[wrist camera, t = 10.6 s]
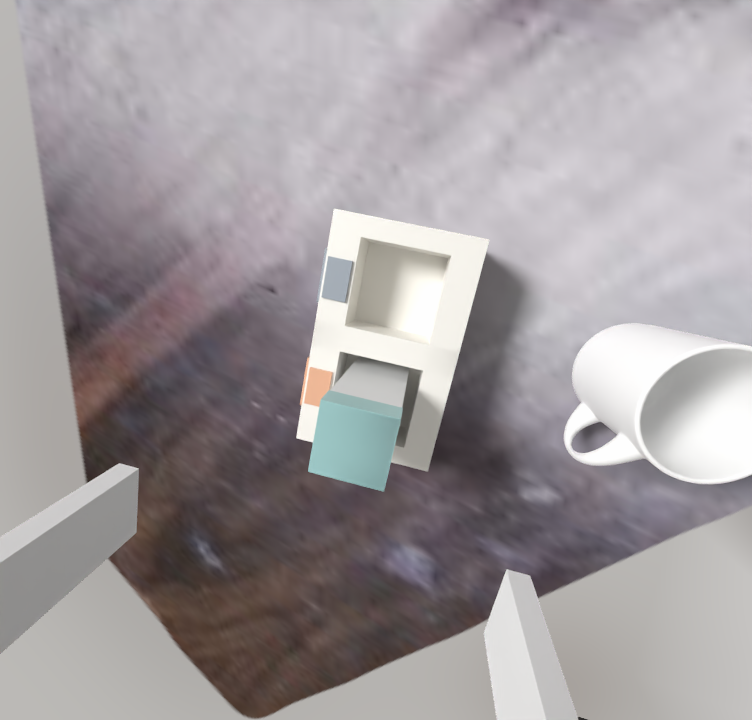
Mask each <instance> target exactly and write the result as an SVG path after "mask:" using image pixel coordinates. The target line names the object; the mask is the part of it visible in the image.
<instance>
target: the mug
mask: <svg viewBox="0 0 752 720" xmlns="http://www.w3.org/2000/svg"><path fill="white" fill-rule="evenodd" d="M572 383H573V387H574V390H575V393H576V395H577V397H578V399H579V400H580V402H581V403H580V405H579V406H578V407H577V408H576V409H575V411H574V412H573V413H572V415H571V416H570V418H569V420H568V422H567V424H566V426H565V431H564V443H565V446H566V449H567V451H568V452H569V454H570V455H571V456H572V457H573V458H574V459H576V460H577V461H579V462H581V463H584V464H587V465H593V466H609V465H616V464H622V463H627V462H631V461H635V460H640V459H647V460H648V461H649V462H650V463H652V464H653V465H654V466H655V467H657V468H658V469H659V470H661V471H662V472H664V473H666V474H667V475H669V476H671V477H674V478H676V479H679V480H682V481H686V482H690V483H697V484H722V483H727V482H733V481H736V480H740V479H743V478H745V477H748V476H750V475H752V346H747V345H743V344H738V343H734V342H729V341H724V340H720V339H715V338H710V337H706V336H701V335H696V334H692V333H687V332H682V331H678V330H673V329H668V328H664V327H659V326H654V325H649V324H641V323H627V324H620V325H616V326H612V327H609V328H607V329H605V330H603V331H601V332H599V333H597V334H596V335H594V336H593V337H592V338H591V339H590V340H588V341H587V342H586V344H585V345H584V346H583V347H582V348H581V350H580V351H579V353H578V355H577V357H576V359H575V362H574V365H573V369H572ZM598 422H602V423H603V424H605V425H606V426H607V427H608V428H609V429H611V430H612V431H613V432H614V433H615V434H617V436H616V437H615V438H614V439H612V440H611V441H610V442H608V443H607V444H605V445H604V446H602V447H600V448H599V449H596V450H594V451H591V452H588V453H578V452H576V451H574V450H573V448H572V440H573V438H574V437H575V435H576V434H577V433H578V432H579V431H580V430H582V429H583V428H585V427H587V426H589V425H592V424H594V423H598Z"/></svg>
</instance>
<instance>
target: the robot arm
mask: <svg viewBox="0 0 752 720" xmlns="http://www.w3.org/2000/svg"><path fill="white" fill-rule="evenodd" d="M138 478H139V469H138V468H134V467H131V466H127V465H124V464H120V463H119V464H117V465H116V466H114V467H113V468H111V469H109V470H108V471H106V472H105V473H103V474H101V475H100V476H98V477H96V478H95V479H93V480H92V481H90V482H88V483H87V484H85V485H84V486H82V487H80V488H79V489H77V490H75V491H74V492H72V493H71V494H69V495H67V496H66V497H64V498H63V499H61V500H59V501H58V502H56V503H54V504H53V505H51V506H50V507H48V508H47V509H45V510H43V511H41V512H40V513H38V514H37V515H35V516H33V517H32V518H30V519H28V520H27V521H25V522H24V523H22V524H21V525H19V526H17V527H16V528H14V529H12V530H11V531H9V532H8V533H6V534H4V535H3V536H1V537H0V654H1V653H2V652H3V651H4V650H5V649H6V648H7V647H8V646H10V645H11V644H12V643H13V642H14V641H15V640H16V639H18V638H19V637H20V636H21V635H22V634H23V633H24V632H25V631H26V630H28V629H29V628H30V627H31V626H32V625H33V624H34V623H35V622H37V621H38V620H39V619H40V618H41V617H42V616H43V615H44V614H46V613H47V612H48V611H49V610H50V609H51V608H52V607H53V606H54V605H56V604H57V603H58V602H59V601H60V600H61V599H62V598H64V597H65V596H66V595H67V594H68V593H69V592H70V591H71V590H73V589H74V588H75V587H76V586H77V585H78V584H79V583H80V582H81V581H83V580H84V579H85V578H86V577H87V576H88V575H89V574H90V573H91V572H93V571H94V570H95V569H96V568H97V567H98V566H99V565H101V564H102V563H103V562H104V561H105V560H106V559H107V558H108V557H110V556H111V555H112V554H113V553H114V552H115V551H116V550H117V549H119V548H120V547H121V546H122V545H123V544H124V543H125V542H126V541H127V540H129V539H130V538H131V537H132V536H133V535H134V534H135V533H136V528H137V503H138ZM484 638H485V645H486V652H487V658H488V665H489V671H490V678H491V684H492V691H493V698H494V704H495V711H496V717H497V720H587V719H584V718H580V717H577V714H576V711H575V708H574V705H573V702H572V699H571V696H570V693H569V690H568V687H567V684H566V681H565V678H564V675H563V672H562V669H561V666H560V664H559V660H558V658H557V654H556V651H555V648H554V646H553V642H552V640H551V636H550V633H549V631H548V627H547V625H546V621H545V619H544V616H543V613H542V610H541V607H540V604H539V601H538V598H537V595H536V592H535V589H534V586H533V583H532V580H531V577H530V576H529V575H526V574H522V573H518V572H515V571H511V570H506V572H505V575H504V578H503V581H502V584H501V586H500V589H499V592H498V595H497V597H496V600H495V603H494V606H493V609H492V611H491V614H490V617H489V620H488V623H487V625H486V628H485V631H484Z"/></svg>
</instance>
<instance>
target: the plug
mask: <svg viewBox="0 0 752 720" xmlns="http://www.w3.org/2000/svg"><path fill="white" fill-rule="evenodd" d="M408 373H409V367H404V366H400V365H396V364H392V363H387V362H383V361H379V360H374V359H370V358H366V357H361V356H359V357H358V358H357V359H356V360H355V362H354V363H353V364H352V365H351V366H350V367H349V369H348V370H347V371H346V372H345V373H344V375H343V376H342V377H341V378H340V379H339V380H338V382H337V383H336V384H335V385H334V386H333V388H332V389H331V390H329V391H328V392H327V393H326V394H325V395H324V396H323V397H322V399H321V401H320V406H319V412H318V418H317V423H316V429H315V434H314V440H313V446H312V451H311V457H310V463H309V468H308V472H311V473H315V474H319V475H323V476H326V477H330V478H334V479H338V480H342V481H345V482H349V483H353V484H357V485H361V486H365V487H368V488H372V489H376V490H380V491H384V489H385V484H386V480H387V476H388V472H389V468H390V463H391V459H392V455H393V451H394V447H395V442H396V438H397V434H398V430H399V426H400V421H401V416H402V411H403V408H402V406H403V400H404V395H405V389H406V384H407V379H408Z"/></svg>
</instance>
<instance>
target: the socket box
mask: <svg viewBox="0 0 752 720" xmlns="http://www.w3.org/2000/svg"><path fill="white" fill-rule="evenodd" d="M488 244H489V239H484V238H479V237H474V236H469V235H464V234H459V233H454V232H449V231H444V230H439V229H434V228H429V227H424V226H419V225H414V224H409V223H404V222H399V221H394V220H389V219H384V218H379V217H374V216H369V215H364V214H358V213H353V212H348V211H343V210H338V209H334V212H333V218H332V224H331V230H330V236H329V242H328V248H325V253H324V259H323V266H322V272H321V278H320V284H319V290H318V296H317V302H319V303H318V309H317V315H316V321H315V328H314V334H313V340H312V346H311V352H310V357H308V358H307V364H306V370H305V376H304V382H303V388H302V395H301V401H300V405H302V407H301V413H300V419H299V425H298V431H297V437H296V438H298V439H302V440H306V441H309V442H313V440H314V434H315V429H316V423H317V418H318V412H319V406H320V401H321V399H322V397H323V396H324V395H325V394H326V393H327V392H328V391H329V390H331V389H332V388H333V386H334V385H335V384H336V383H337V382H338V380H339V379H340V378H341V377H342V376H343V375H344V373H345V372H346V371H347V370H348V369H349V367H350V366H351V365H352V364H353V363H354V362H355V360H356V359H357V358H358V357H359V356H361V357H366V358H370V359H374V360H379V361H383V362H387V363H392V364H396V365H400V366H404V367H409V373H408V379H407V384H406V389H405V395H404V400H403V406H402V408H403V411H402V416H401V421H400V426H399V430H398V434H397V438H396V442H395V447H394V451H393V455H392V459H391V462H392V463H396V464H400V465H404V466H408V467H412V468H416V469H420V470H424V471H427V472H428V469H429V465H430V461H431V457H432V454H433V450H434V446H435V442H436V439H437V435H438V431H439V427H440V424H441V420H442V416H443V412H444V409H445V405H446V401H447V397H448V394H449V390H450V386H451V382H452V379H453V375H454V371H455V367H456V364H457V360H458V356H459V352H460V349H461V345H462V341H463V337H464V334H465V330H466V326H467V322H468V319H469V315H470V311H471V307H472V304H473V300H474V296H475V292H476V289H477V285H478V281H479V277H480V274H481V270H482V266H483V262H484V259H485V255H486V251H487V247H488Z"/></svg>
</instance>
